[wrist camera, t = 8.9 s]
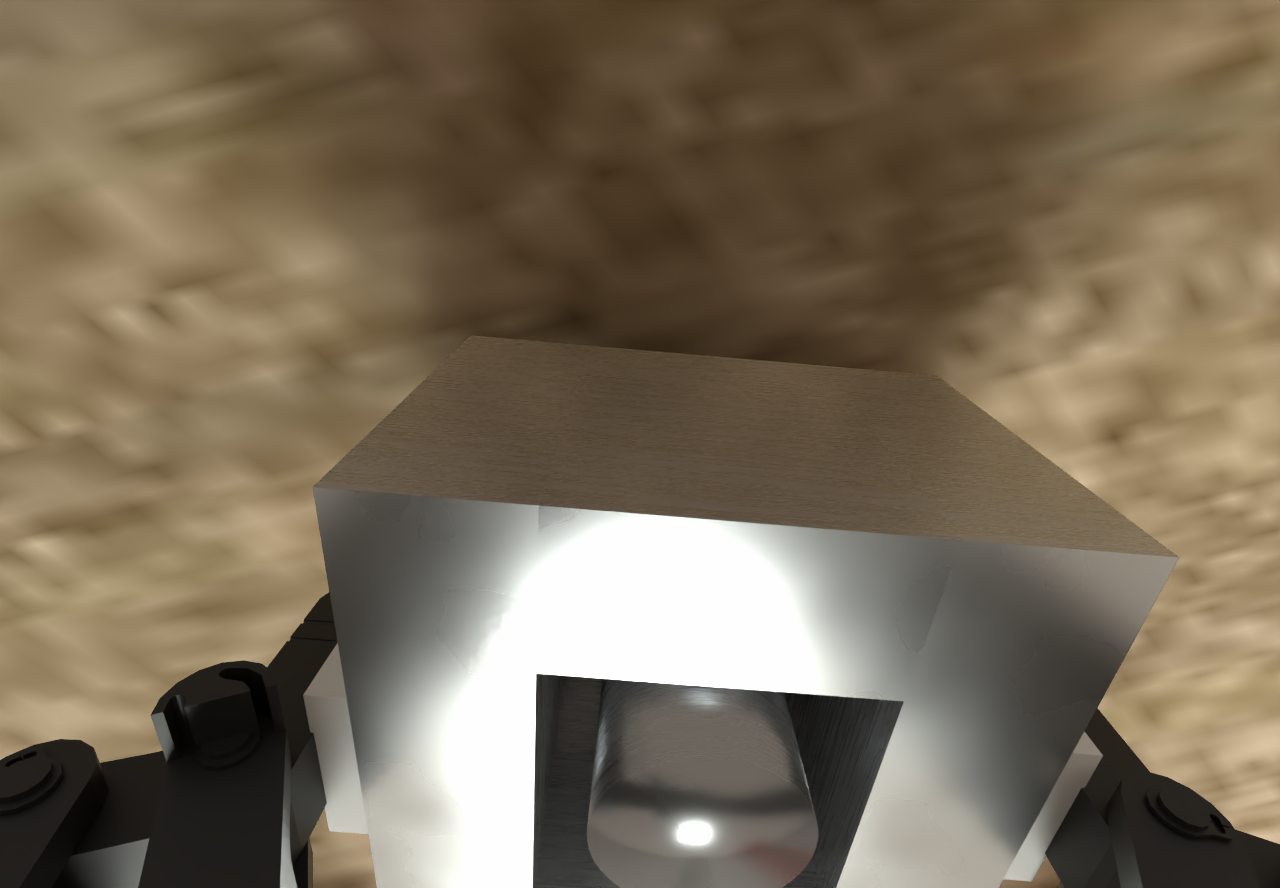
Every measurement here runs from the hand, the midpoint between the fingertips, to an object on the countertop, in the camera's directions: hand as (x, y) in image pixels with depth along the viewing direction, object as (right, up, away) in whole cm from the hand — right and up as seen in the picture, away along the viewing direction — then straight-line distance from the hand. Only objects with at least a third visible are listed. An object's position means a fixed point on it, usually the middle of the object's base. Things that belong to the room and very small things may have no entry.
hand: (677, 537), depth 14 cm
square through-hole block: (0, 0, -1) cm, 1 cm away
